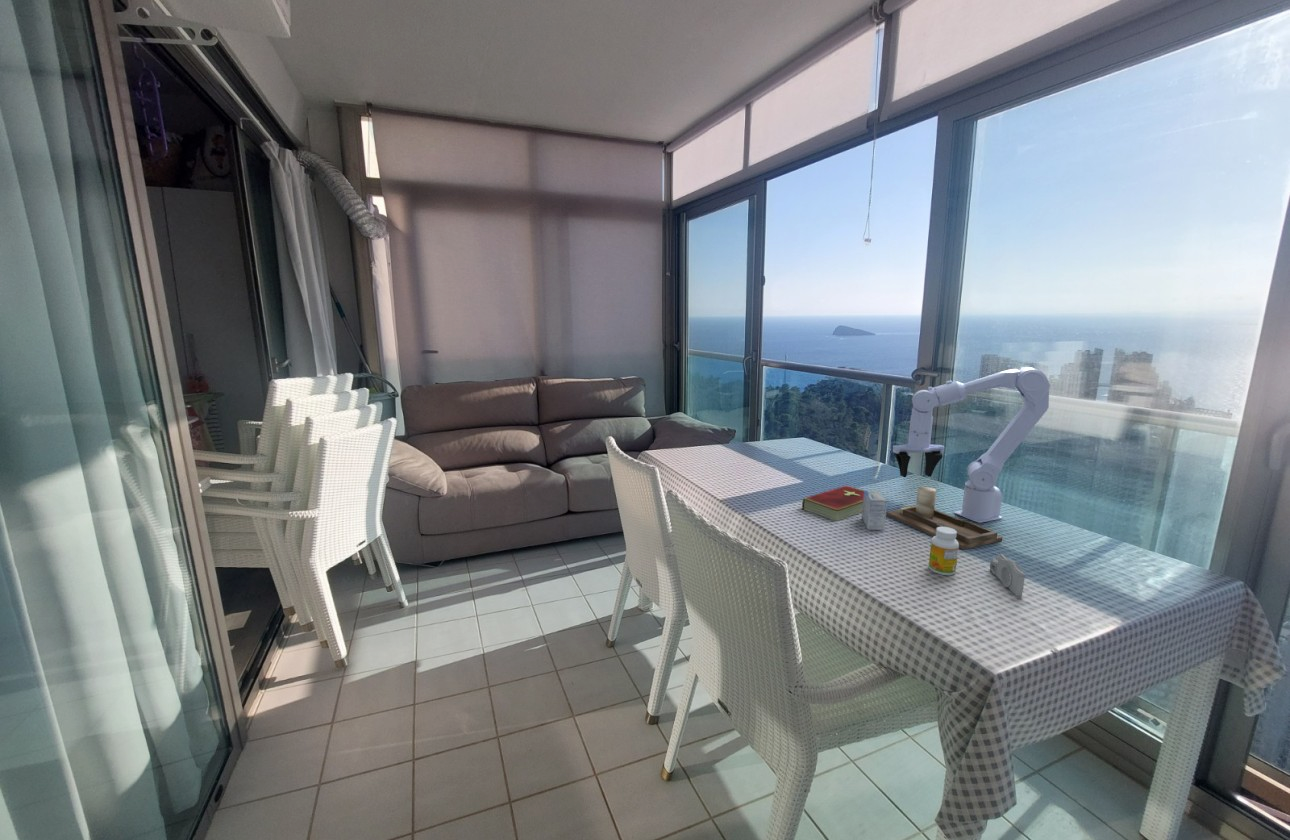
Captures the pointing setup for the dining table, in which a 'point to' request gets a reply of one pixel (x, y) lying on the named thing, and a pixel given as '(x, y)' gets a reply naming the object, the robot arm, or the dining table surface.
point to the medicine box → (874, 510)
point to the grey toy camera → (1008, 573)
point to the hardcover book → (835, 503)
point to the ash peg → (926, 502)
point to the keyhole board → (965, 530)
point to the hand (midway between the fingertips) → (915, 475)
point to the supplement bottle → (944, 551)
